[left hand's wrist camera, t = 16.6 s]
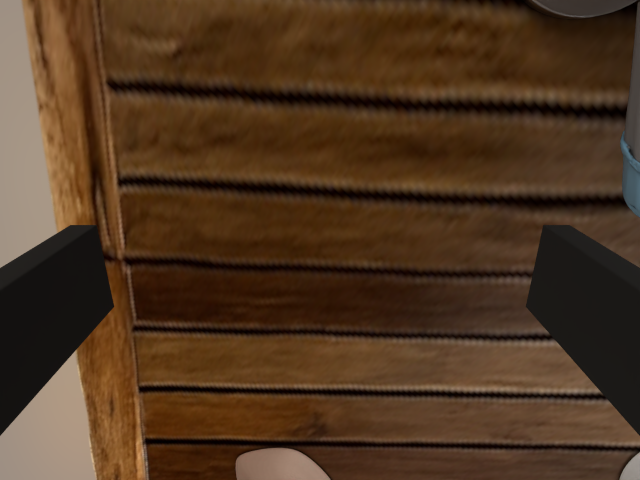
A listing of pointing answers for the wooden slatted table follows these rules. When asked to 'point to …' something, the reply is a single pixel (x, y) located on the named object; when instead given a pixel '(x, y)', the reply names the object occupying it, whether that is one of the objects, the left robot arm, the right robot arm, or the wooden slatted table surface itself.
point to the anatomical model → (277, 466)
